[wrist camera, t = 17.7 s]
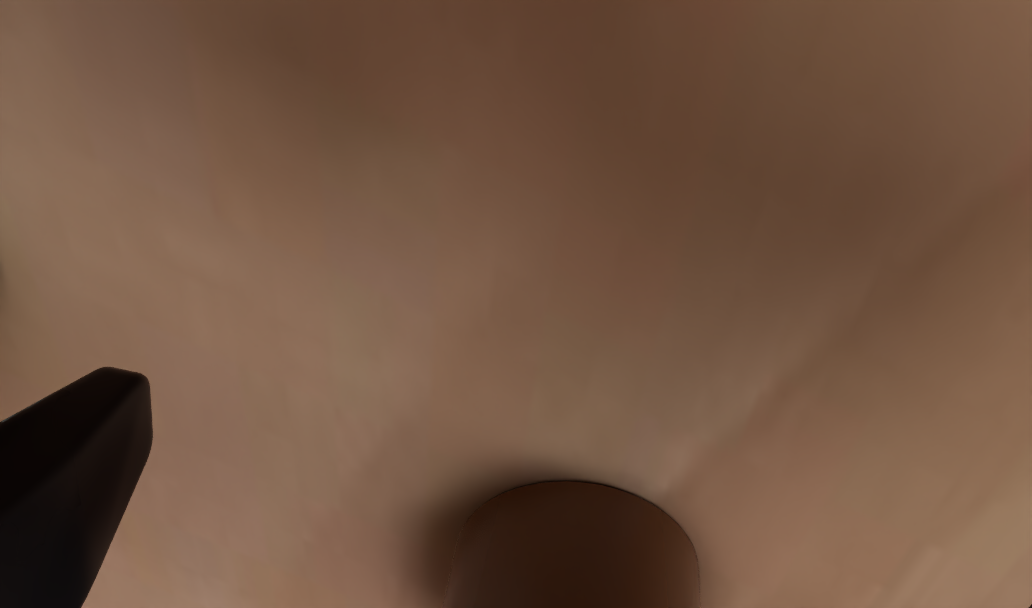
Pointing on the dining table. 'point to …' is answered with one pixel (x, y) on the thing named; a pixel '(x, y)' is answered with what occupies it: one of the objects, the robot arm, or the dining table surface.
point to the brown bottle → (572, 552)
